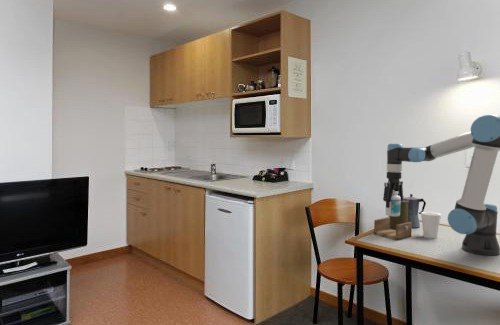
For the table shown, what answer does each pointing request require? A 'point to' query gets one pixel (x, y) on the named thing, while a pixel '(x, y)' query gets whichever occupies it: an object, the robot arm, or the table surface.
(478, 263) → the table surface
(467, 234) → the robot arm
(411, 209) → the moka pot
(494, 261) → the table surface
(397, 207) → the pill bottle
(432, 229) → the foam cup
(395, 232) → the holder
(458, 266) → the table surface
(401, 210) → the canister
